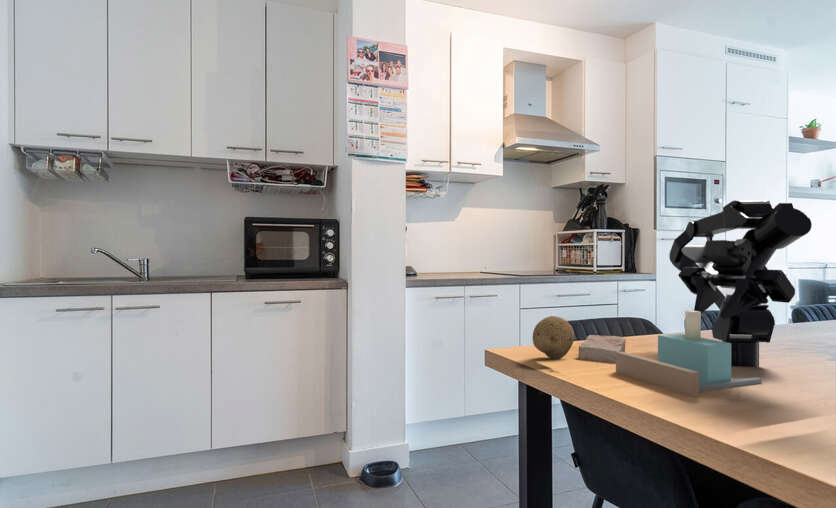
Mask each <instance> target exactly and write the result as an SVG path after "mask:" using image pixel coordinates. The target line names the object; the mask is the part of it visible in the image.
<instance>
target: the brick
mask: <svg viewBox="0 0 836 508" xmlns="http://www.w3.org/2000/svg"><path fill="white" fill-rule="evenodd" d="M626 341H627V340H626V337H622V336H618V335H617V336H616V335H599V334H595V335H593V334H590V335H588V336H586V339H585V340H584V341H582V342H581V343H580V344H579V345H578V358H579V359H580V360H591V361H601V362H607V363H616V352H626Z"/></svg>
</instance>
